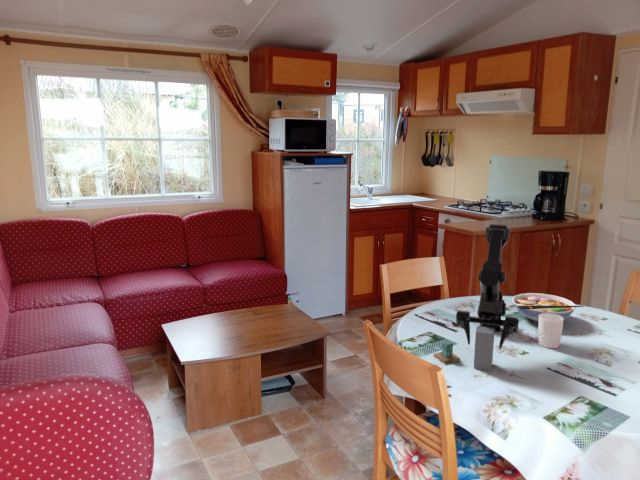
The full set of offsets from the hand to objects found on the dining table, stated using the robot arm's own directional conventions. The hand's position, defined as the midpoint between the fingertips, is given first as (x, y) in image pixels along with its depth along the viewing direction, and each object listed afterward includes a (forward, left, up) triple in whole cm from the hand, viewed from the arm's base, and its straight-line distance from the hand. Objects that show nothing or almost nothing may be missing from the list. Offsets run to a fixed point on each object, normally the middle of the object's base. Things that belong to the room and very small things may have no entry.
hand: (484, 346), depth 156 cm
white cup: (-28, -17, -7) cm, 34 cm away
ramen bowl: (-36, -40, -7) cm, 54 cm away
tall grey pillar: (0, -1, -7) cm, 7 cm away
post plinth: (+10, -7, -7) cm, 14 cm away
